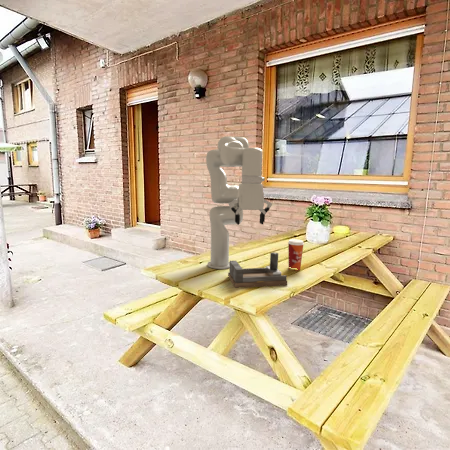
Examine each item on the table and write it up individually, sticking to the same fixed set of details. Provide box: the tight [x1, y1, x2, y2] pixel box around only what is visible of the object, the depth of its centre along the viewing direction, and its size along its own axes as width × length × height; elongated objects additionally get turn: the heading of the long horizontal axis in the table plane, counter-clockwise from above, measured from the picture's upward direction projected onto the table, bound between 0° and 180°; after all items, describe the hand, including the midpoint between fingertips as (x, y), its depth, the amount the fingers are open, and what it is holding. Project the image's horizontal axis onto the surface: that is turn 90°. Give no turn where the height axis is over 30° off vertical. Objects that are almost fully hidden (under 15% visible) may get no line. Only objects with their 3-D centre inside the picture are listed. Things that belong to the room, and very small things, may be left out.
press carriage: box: [265, 252, 282, 276], centre depth 155 cm, size 10×4×10 cm, turn 11°
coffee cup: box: [287, 238, 305, 271], centre depth 173 cm, size 8×8×15 cm
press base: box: [227, 260, 288, 289], centre depth 154 cm, size 15×24×8 cm, turn 101°
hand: (249, 223), depth 132 cm, fingers open, 9 cm apart
